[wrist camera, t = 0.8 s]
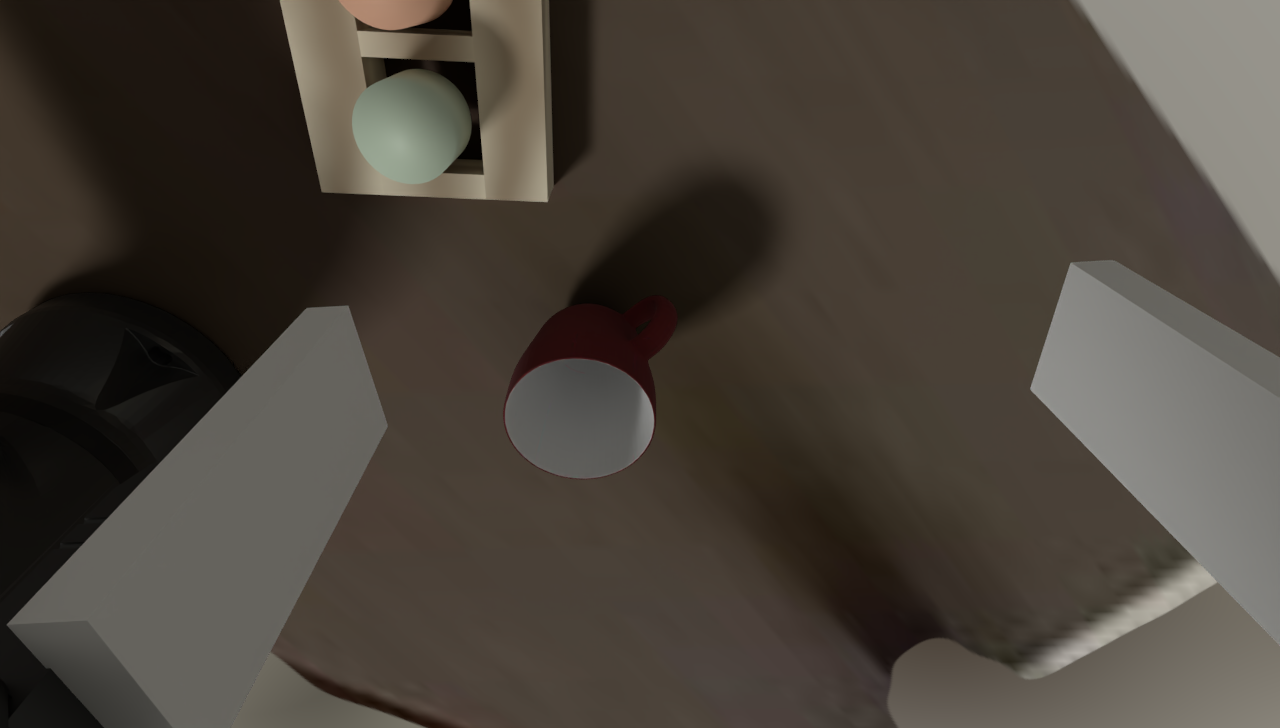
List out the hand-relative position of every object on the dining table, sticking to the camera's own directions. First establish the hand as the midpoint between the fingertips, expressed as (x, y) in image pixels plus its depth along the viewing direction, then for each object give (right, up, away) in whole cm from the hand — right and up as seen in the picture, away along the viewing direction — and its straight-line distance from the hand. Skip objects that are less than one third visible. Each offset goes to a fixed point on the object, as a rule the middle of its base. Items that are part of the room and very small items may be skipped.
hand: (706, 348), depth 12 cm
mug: (-4, +3, +29) cm, 30 cm away
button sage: (-12, +12, +20) cm, 26 cm away
